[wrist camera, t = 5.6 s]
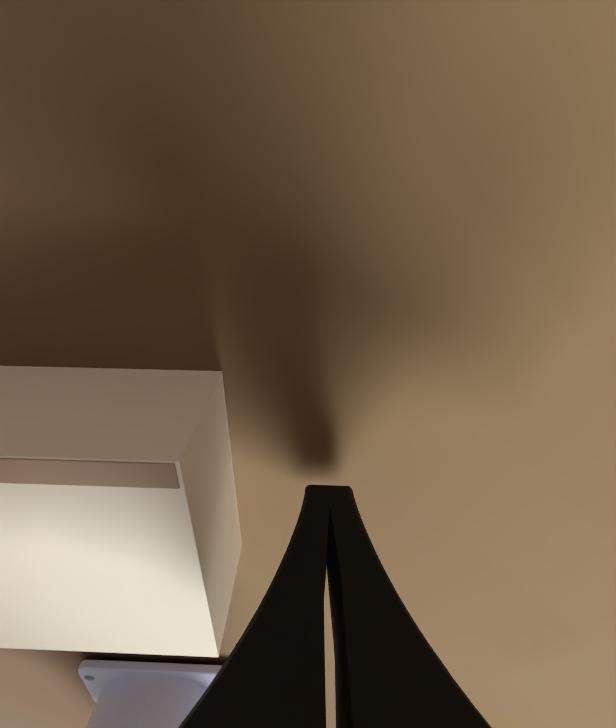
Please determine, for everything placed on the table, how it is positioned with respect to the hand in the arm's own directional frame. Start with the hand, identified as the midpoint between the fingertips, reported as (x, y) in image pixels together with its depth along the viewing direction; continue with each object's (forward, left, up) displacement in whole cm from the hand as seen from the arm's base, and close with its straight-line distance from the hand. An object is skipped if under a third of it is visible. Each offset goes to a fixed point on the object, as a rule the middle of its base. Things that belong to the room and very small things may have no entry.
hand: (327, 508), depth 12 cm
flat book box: (0, +9, -2) cm, 9 cm away
